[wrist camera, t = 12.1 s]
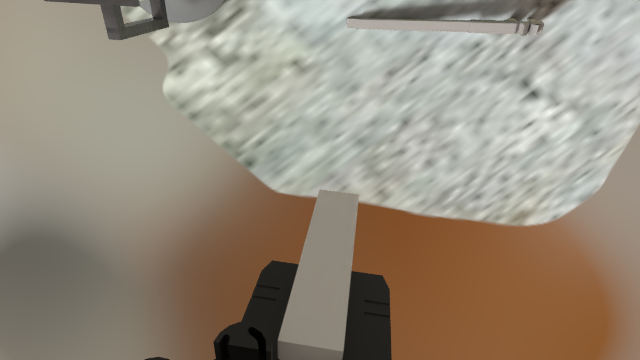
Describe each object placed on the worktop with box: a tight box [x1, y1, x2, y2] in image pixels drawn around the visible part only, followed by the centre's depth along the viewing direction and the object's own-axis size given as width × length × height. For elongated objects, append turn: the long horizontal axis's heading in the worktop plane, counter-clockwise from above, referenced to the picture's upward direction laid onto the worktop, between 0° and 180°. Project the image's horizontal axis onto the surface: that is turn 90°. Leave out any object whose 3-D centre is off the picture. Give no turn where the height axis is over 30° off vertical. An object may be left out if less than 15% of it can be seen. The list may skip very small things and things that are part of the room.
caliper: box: [347, 18, 544, 36], centre depth 39 cm, size 20×1×6 cm, turn 91°
